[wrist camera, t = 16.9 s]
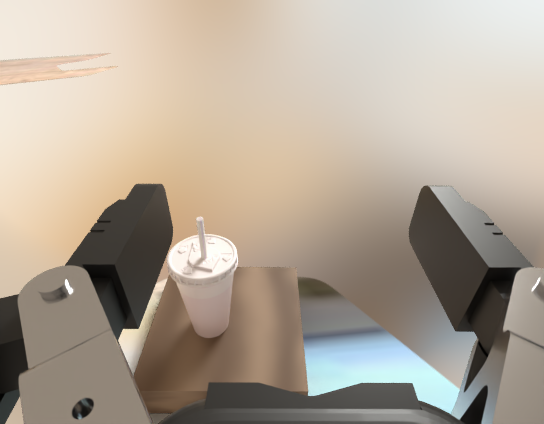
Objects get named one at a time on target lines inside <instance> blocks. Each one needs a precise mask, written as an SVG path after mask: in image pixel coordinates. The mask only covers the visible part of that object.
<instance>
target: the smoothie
mask: <svg viewBox="0 0 544 424" xmlns="http://www.w3.org/2000/svg"><path fill="white" fill-rule="evenodd" d="M196 221H197V228H198V235H196V236H192V237H189V238H186V239H184V240H183V241H181V242H179V243H178V244H176V245H175V246H174V247H173V248H172V249H171V251H170V253H169V254H168V257H167V264H168V272H169V275H170V276H171V278H172V279H173V280H174V281H176V283H177V286H178V288H179V291H180V294H181V296H182V299H183V301H184V304H185V306H186V309H187V312H188V314H189V317H190V319H191V322H192V325H193V327H194V330H195V332H196V333H197V334H198V335H199V336H201V337H204V338H213V337H217V336H219V335H221V334H222V333H223V332H224V331H225V330H226V329H227V327H228V323H229V313H230V303H231V294H232V284H233V275H234V271H235V270H236V267H237V264H238V256H237V250H236V248H235V246H234V244H233V243H232V242H231V241H229V240H228V239H226V238H224V237H221V236H217V235H211V234H205V231H204V222H203V218H202V217H198V218H196Z"/></svg>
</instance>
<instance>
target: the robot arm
mask: <svg viewBox="0 0 544 424" xmlns="http://www.w3.org/2000/svg"><path fill="white" fill-rule="evenodd" d="M90 231H91V232H90V233H88V234H87V236H86V237H85V238H84V240H83V241H82V242H81V244H80V245H79V247H78V248H77V249H76V251H75V252H74V253H73V255H72V256H71V258H70V259H69V260H68V262H67V263H66V265H65V266H60V267H56V268H53V269H50V270H47V271H45V272H43V273H41V274H39V275H38V276H36V277H35V278H33V279H32V280H31V281H29V282H28V283H27V284H26V285H25V286H24V288H23V289H22V290H21V292H20V294H18V295H13V296H9V297H5V298H0V424H5V423H6V421H7V419H8V417H9V415H10V413H11V411H12V410H13V408H14V406H15V404H16V402H17V400H18V399H19V397H20V398H21V405H22V413H23V420H24V424H153V421H152V419H151V417H150V414H149V412H148V410H147V408H146V405H145V403H144V401H143V398H142V396H141V394H140V391H139V389H138V386H137V384H136V382H135V379H134V377H133V375H132V372H131V370H130V368H129V365H128V363H127V360H126V358H125V356H124V353H123V351H122V349H121V346H120V344H119V342H118V339H119V337H120V334H121V332H122V330H123V329H139V326H140V324H141V321H142V318H143V316H144V313H145V311H146V308H147V305H148V303H149V300H150V297H151V295H152V292H153V290H154V287H155V284H156V282H157V279H158V276H159V274H160V271H161V269H162V266H163V263H164V261H165V258H166V255H167V253H168V250H169V247H170V245H171V242H172V237H173V226H172V221H171V216H170V212H169V206H168V202H167V197H166V192H165V189H164V186H163V185H162V184H136V185H135V186H134V187H133V189H132V190H131V192H130V193H129V195H128V196H127V198H126V199H125V200H118V201H117V202H115V203H114V204H112V205H111V206H109V207H108V208H107V209H105V211H104V212H103V213H102V215H101V216H100V217H99V219H98V220H97V223H95V224H94V226H93V227H92V228H91V230H90ZM409 239H410V243H411V246H412V248H413V250H414V252H415V253H416V256H417V258H418V259H419V261H420V263H421V265H422V267H423V269H424V271H425V273H426V275H427V277H428V279H429V281H430V283H431V285H432V287H433V289H434V291H435V293H436V294H437V296H438V298H439V300H440V302H441V304H442V306H443V308H444V310H445V312H446V314H447V316H448V318H449V320H450V322H451V324H452V326H453V327H454V329H455V331H467V332H469V331H470V332H471V331H472V332H475V334H476V336H477V340H476V341H475V343H474V345H473V348H472V351H471V354H470V358H469V361H468V364H467V368H466V371H465V374H464V378H463V381H462V385H461V388H460V391H459V394H458V398H457V401H456V403H455V406H454V408H453V410H452V412H451V414H449V413H447V412H445V411H443V410H441V409H439V408H437V407H435V406H432V405H430V404H427V403H425V402H422V401H418V399H417V396H416V393H415V390H414V387H413V384H412V383H360V384H357V385H353V386H349V387H346V388H342V389H339V390H335V391H332V392H328V393H324V394H321V395H317V396H306V395H302V394H299V393H295V392H291V391H288V390H284V389H281V388H277V387H273V386H270V385H266V384H262V383H258V382H209V383H208V389H207V396H206V398H205V399H202V400H198V401H196V402H193V403H191V404H188V405H186V406H184V407H182V408H181V409H179V410H177V411H175V412H173V413H172V414H171V415H169V416H168V417H166V418H165V419H163V420H162V421H161V422H160V423H158V424H544V269H542V268H534V267H533V266H532V265H531V263H530V262H529V261H528V260H527V259H526V258H525V257H524V256H523V255H522V253H521V252H520V251H519V250H518V249H517V248H516V247H515V246H514V245H513V243H512V242H511V241H510V240H509V239H508V238H507V237H506V236H505V235H503V232H502V231H501V230H500V229H499V228H498V227H497V226H496V225H494V222H493V221H492V220H491V219H490V218H489V217H488V216H487V214H486V213H485V212H484V211H482V210H481V209H479V208H477V207H476V206H474V205H473V204H471V203H469V202H465V201H464V199H463V198H462V197H461V196H460V195H459V193H458V192H457V191H456V190H455V189H454V188H453V187H452V186H424V187H423V188H422V189H421V191H420V194H419V197H418V200H417V203H416V207H415V210H414V214H413V217H412V220H411V224H410V227H409Z"/></svg>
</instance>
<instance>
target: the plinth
mask: <svg viewBox="0 0 544 424" xmlns="http://www.w3.org/2000/svg"><path fill="white" fill-rule="evenodd" d="M133 377H134V379H135V382H136V384H137V386H138V389H139V391H140V394H141V396H142V398H143V401H144V403H145V405H146V408H147V410H148V412H149V413H173V412H175V411H177V410H179V409H181V408H182V407H184V406H186V405H188V404H191V403H193V402H196V401H198V400H202V399H205V398H206V396H207V389H208V383H209V382H258V383H262V384H266V385H270V386H273V387H277V388H281V389H284V390H288V391H291V392H295V393H299V394H302V395H306V396H308V385H307V375H306V364H305V354H304V344H303V333H302V323H301V313H300V302H299V292H298V282H297V271H296V268H284V267H282V268H281V267H236V270H235V271H234V275H233V284H232V294H231V303H230V313H229V323H228V327H227V329H226V330H225V331H224V332H223V333H222V334H221V335H219V336H217V337H213V338H204V337H201V336H199V335H198V334H197V333H196V332H195V330H194V327H193V325H192V322H191V319H190V317H189V314H188V312H187V309H186V306H185V304H184V301H183V299H182V296H181V294H180V291H179V288H178V286H177V283H176V281H174V280H173V279H172V278H171V276H170V275H169V277H168V279H167V282H166V285H165V288H164V291H163V294H162V297H161V299H160V302H159V305H158V308H157V311H156V314H155V317H154V319H153V322H152V325H151V328H150V331H149V334H148V336H147V339H146V342H145V345H144V348H143V351H142V354H141V356H140V359H139V362H138V365H137V368H136V371H135V373H134V376H133Z"/></svg>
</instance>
